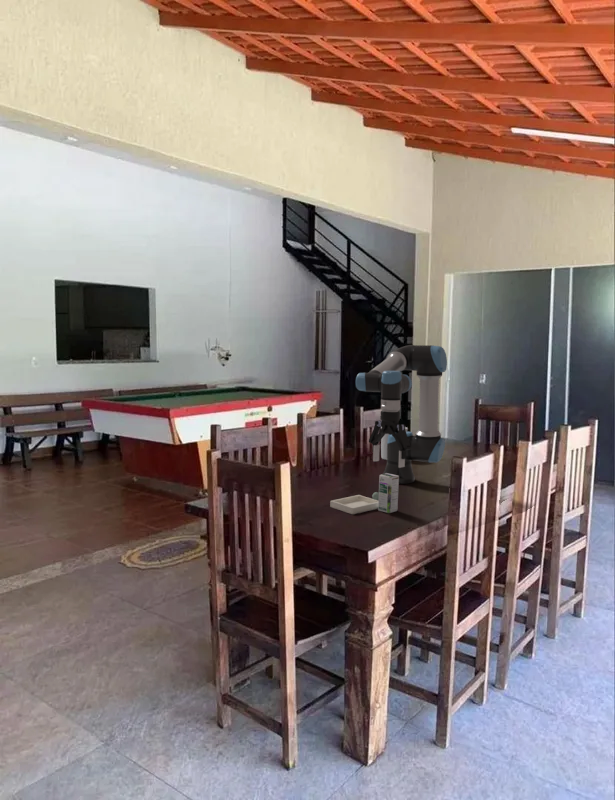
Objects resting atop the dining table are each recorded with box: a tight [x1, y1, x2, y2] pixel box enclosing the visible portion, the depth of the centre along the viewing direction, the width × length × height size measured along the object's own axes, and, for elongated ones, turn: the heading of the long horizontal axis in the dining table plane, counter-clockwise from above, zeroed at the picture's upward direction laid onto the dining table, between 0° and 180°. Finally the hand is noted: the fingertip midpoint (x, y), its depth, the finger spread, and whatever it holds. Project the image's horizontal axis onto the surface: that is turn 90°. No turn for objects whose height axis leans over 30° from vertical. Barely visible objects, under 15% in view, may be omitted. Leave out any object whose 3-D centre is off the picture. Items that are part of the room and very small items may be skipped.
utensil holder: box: [380, 426, 409, 461], centre depth 350 cm, size 15×15×18 cm
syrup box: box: [377, 473, 399, 514], centre depth 247 cm, size 6×6×14 cm
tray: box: [329, 494, 379, 515], centre depth 252 cm, size 16×13×2 cm
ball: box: [371, 491, 379, 501], centre depth 262 cm, size 4×4×4 cm
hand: (388, 464), depth 246 cm, fingers open, 13 cm apart
